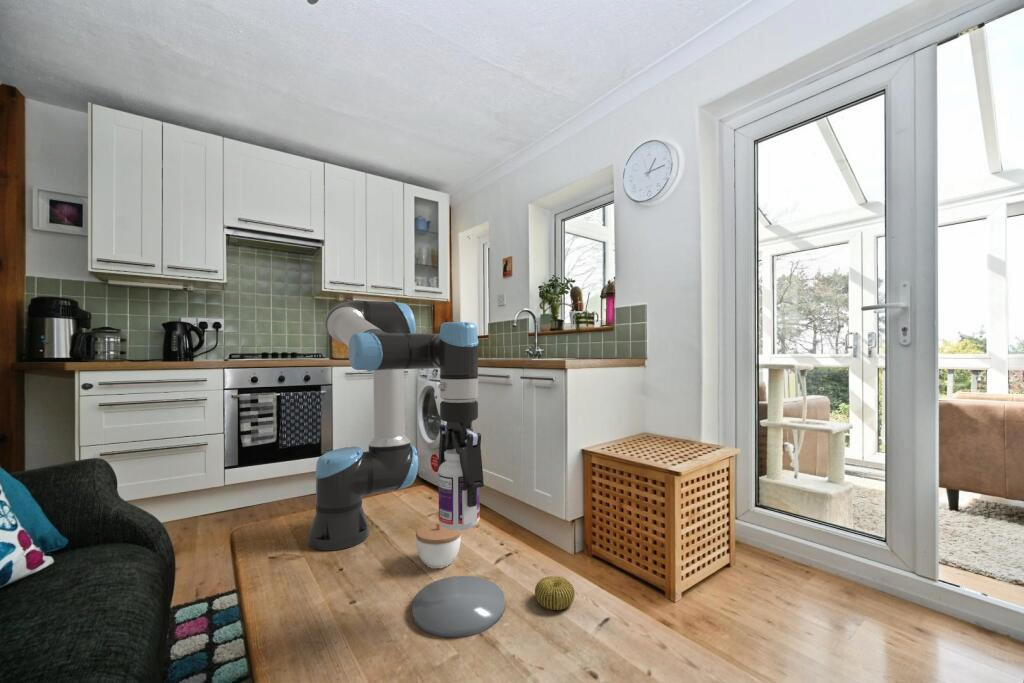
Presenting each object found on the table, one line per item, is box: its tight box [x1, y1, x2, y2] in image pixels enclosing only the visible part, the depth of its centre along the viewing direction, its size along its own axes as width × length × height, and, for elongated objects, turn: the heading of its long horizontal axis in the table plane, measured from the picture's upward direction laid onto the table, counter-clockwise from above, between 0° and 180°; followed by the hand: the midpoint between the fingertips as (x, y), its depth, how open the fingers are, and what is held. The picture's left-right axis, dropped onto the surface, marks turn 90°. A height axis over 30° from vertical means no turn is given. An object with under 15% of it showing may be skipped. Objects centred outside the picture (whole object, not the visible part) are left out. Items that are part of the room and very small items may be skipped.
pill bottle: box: [437, 449, 481, 531], centre depth 86 cm, size 8×8×14 cm
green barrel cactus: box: [534, 575, 575, 611], centre depth 88 cm, size 8×4×8 cm
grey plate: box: [411, 575, 506, 638], centre depth 86 cm, size 18×18×2 cm
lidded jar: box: [415, 520, 462, 569], centre depth 104 cm, size 11×11×9 cm
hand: (459, 515), depth 86 cm, fingers closed on pill bottle, 8 cm apart
